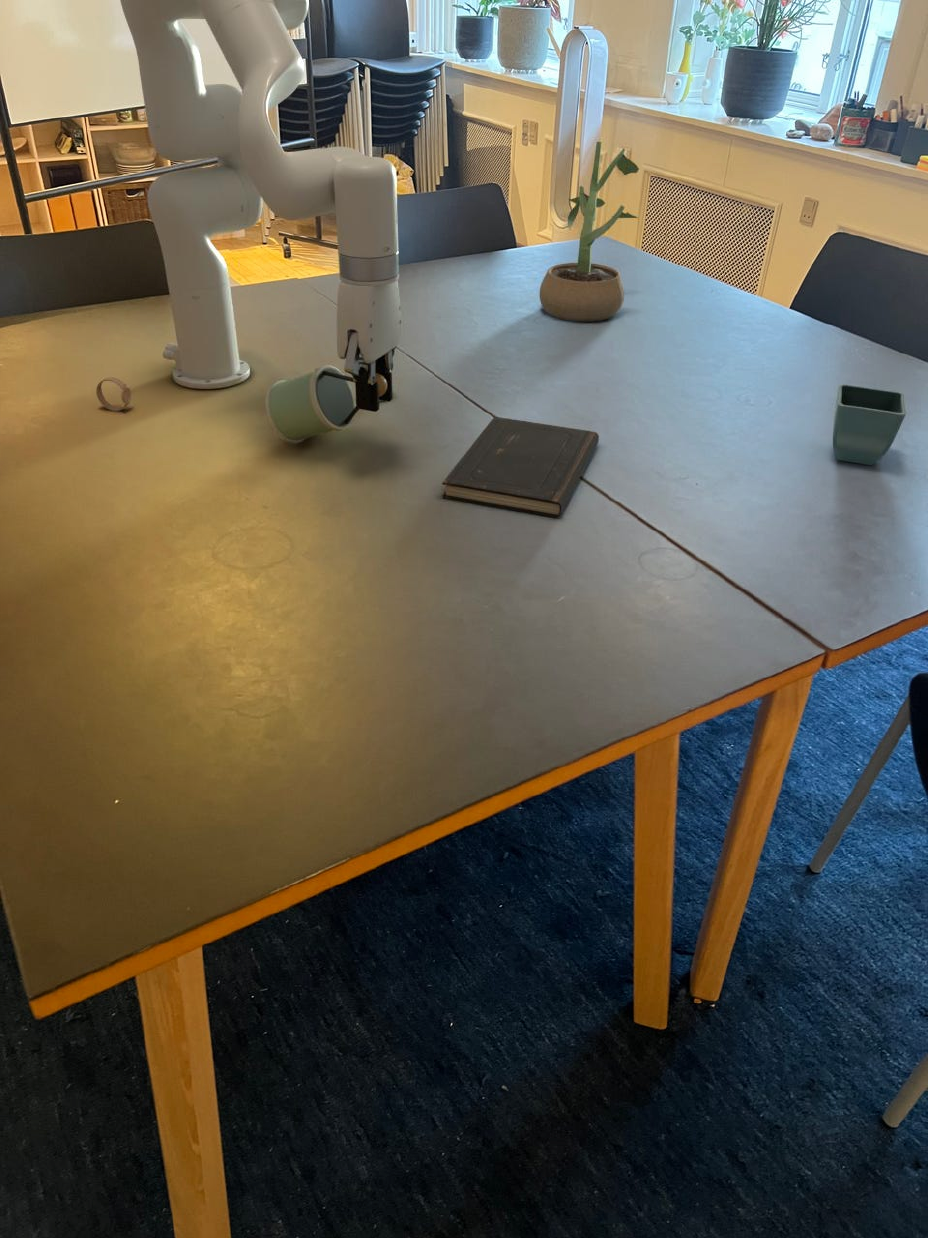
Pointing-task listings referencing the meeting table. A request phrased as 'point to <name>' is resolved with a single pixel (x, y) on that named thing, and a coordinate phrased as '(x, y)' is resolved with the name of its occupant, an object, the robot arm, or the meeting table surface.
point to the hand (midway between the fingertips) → (374, 403)
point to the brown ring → (124, 394)
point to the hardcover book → (522, 466)
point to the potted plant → (587, 260)
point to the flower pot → (866, 423)
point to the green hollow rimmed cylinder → (313, 404)
